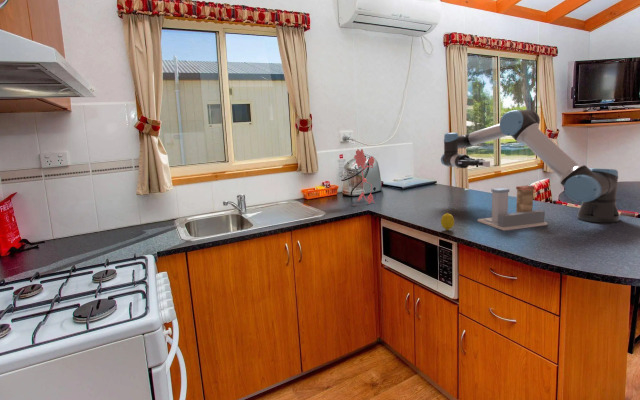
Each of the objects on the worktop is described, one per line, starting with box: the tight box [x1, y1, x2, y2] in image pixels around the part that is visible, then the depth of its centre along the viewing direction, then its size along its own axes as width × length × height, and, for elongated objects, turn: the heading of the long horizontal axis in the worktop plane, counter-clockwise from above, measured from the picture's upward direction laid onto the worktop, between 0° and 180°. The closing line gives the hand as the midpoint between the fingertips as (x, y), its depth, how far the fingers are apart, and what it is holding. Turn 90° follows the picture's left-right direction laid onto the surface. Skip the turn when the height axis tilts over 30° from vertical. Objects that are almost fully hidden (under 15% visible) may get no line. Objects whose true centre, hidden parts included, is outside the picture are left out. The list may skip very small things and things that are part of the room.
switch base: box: [477, 209, 548, 231], centre depth 166 cm, size 18×22×6 cm
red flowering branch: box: [351, 148, 376, 207], centre depth 229 cm, size 15×26×35 cm, turn 26°
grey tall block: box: [490, 187, 510, 223], centre depth 163 cm, size 5×6×15 cm
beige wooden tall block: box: [515, 185, 536, 213], centre depth 166 cm, size 5×6×15 cm
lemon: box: [440, 212, 455, 231], centre depth 160 cm, size 6×6×8 cm
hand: (488, 164), depth 178 cm, fingers closed
